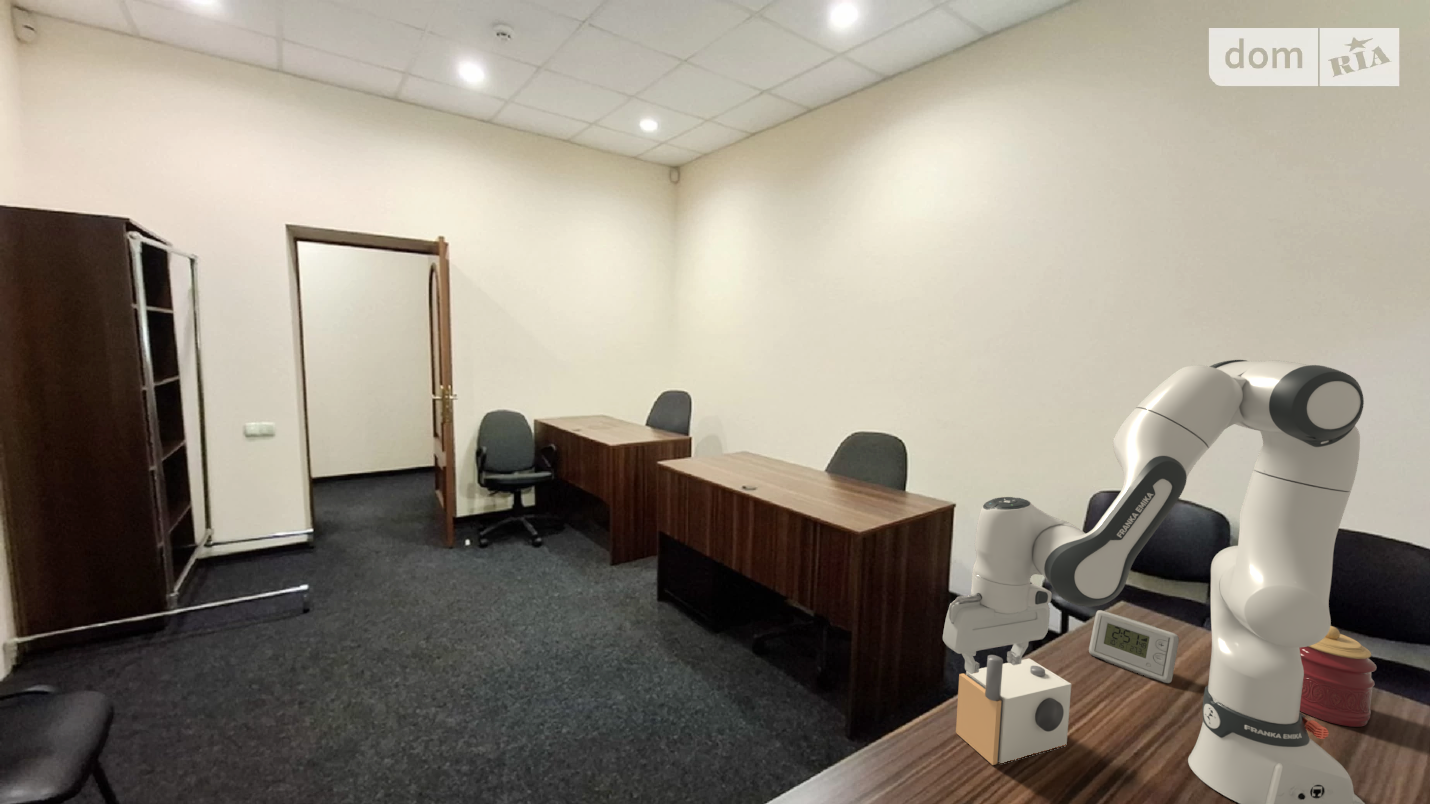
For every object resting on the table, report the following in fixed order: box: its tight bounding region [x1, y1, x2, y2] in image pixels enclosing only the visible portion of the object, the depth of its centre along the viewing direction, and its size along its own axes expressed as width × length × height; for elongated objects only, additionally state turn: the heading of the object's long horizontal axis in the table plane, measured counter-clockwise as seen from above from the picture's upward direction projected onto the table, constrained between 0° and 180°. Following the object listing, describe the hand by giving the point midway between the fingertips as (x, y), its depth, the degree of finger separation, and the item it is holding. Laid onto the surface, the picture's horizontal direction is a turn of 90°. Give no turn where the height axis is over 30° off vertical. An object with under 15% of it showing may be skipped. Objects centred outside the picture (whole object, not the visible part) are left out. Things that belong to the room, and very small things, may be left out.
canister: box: [1299, 625, 1377, 728], centre depth 116 cm, size 13×13×18 cm
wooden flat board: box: [955, 654, 1004, 766], centre depth 101 cm, size 2×9×19 cm, turn 19°
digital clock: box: [1088, 609, 1180, 684], centre depth 130 cm, size 16×9×11 cm, turn 27°
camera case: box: [965, 658, 1072, 764], centre depth 104 cm, size 16×10×13 cm, turn 109°
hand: (993, 667), depth 98 cm, fingers open, 8 cm apart
